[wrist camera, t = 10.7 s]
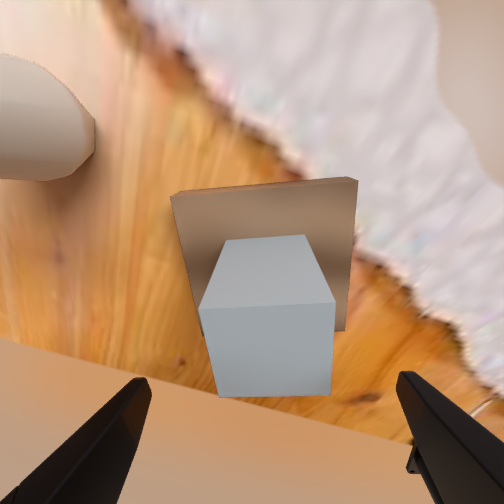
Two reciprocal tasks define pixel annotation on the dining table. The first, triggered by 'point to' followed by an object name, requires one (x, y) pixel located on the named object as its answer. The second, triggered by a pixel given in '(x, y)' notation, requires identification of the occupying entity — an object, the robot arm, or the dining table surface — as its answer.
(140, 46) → the dining table surface
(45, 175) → the salt shaker
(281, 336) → the slate block
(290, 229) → the walnut plinth
